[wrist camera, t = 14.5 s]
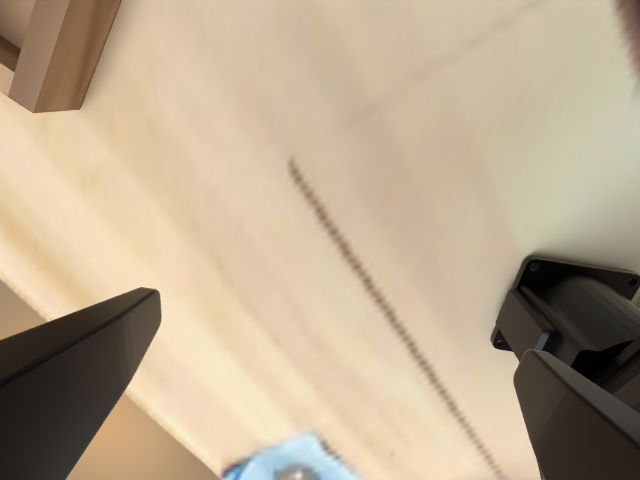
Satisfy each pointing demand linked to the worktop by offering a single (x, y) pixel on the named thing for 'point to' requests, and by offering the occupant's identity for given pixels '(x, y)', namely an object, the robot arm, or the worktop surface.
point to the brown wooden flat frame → (51, 50)
